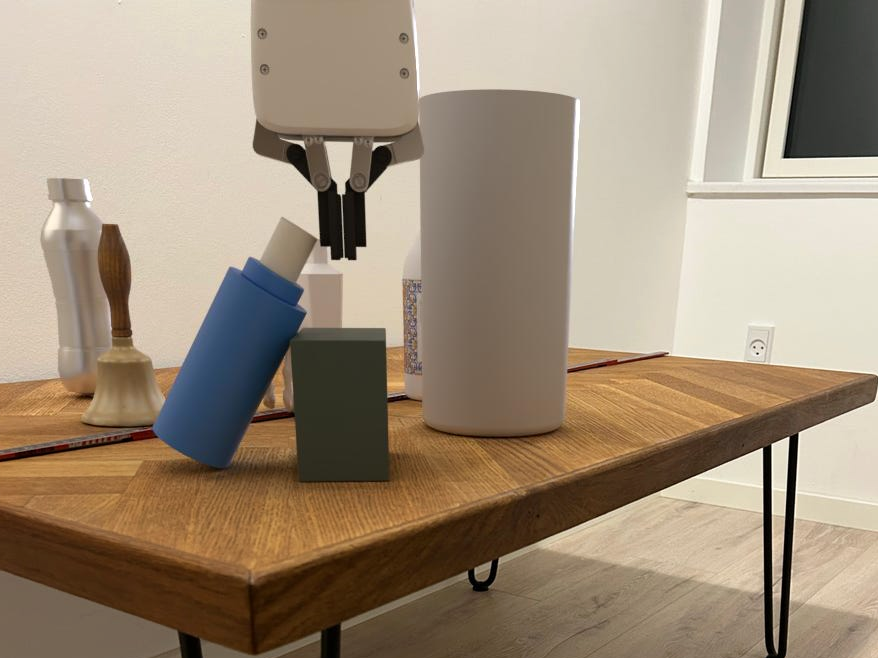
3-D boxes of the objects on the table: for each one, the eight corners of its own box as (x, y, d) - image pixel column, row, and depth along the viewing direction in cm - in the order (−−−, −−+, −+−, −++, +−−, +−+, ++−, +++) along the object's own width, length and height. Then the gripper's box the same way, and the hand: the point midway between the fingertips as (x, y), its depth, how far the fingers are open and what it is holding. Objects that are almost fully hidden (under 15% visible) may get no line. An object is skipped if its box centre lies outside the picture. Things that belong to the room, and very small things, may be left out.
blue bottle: (148, 474, 64) (118, 211, 57) (166, 458, 69) (140, 214, 62) (324, 475, 65) (313, 216, 58) (328, 458, 70) (319, 218, 64)
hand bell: (165, 409, 89) (144, 225, 83) (191, 422, 83) (171, 224, 77) (72, 416, 85) (43, 223, 79) (93, 430, 79) (62, 221, 72)
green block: (298, 481, 62) (289, 340, 59) (309, 451, 72) (302, 327, 68) (389, 481, 63) (385, 340, 60) (388, 451, 72) (385, 327, 69)
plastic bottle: (69, 391, 99) (37, 180, 92) (136, 390, 101) (110, 182, 93) (55, 400, 94) (20, 176, 86) (126, 399, 95) (98, 178, 87)
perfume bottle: (343, 410, 90) (336, 239, 84) (356, 417, 86) (349, 239, 80) (295, 412, 88) (285, 238, 83) (306, 420, 85) (296, 238, 79)
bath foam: (423, 391, 103) (421, 187, 95) (481, 395, 100) (484, 186, 92) (392, 399, 97) (387, 183, 89) (453, 404, 94) (453, 182, 86)
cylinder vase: (451, 442, 76) (452, 84, 66) (404, 417, 86) (398, 106, 77) (589, 433, 80) (609, 96, 70) (528, 411, 91) (537, 115, 81)
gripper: (453, -55, 59) (453, 260, 66) (210, -65, 58) (236, 258, 65) (462, -95, 52) (461, 262, 59) (187, -107, 51) (219, 259, 58)
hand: (344, 259), depth 62 cm, fingers closed
